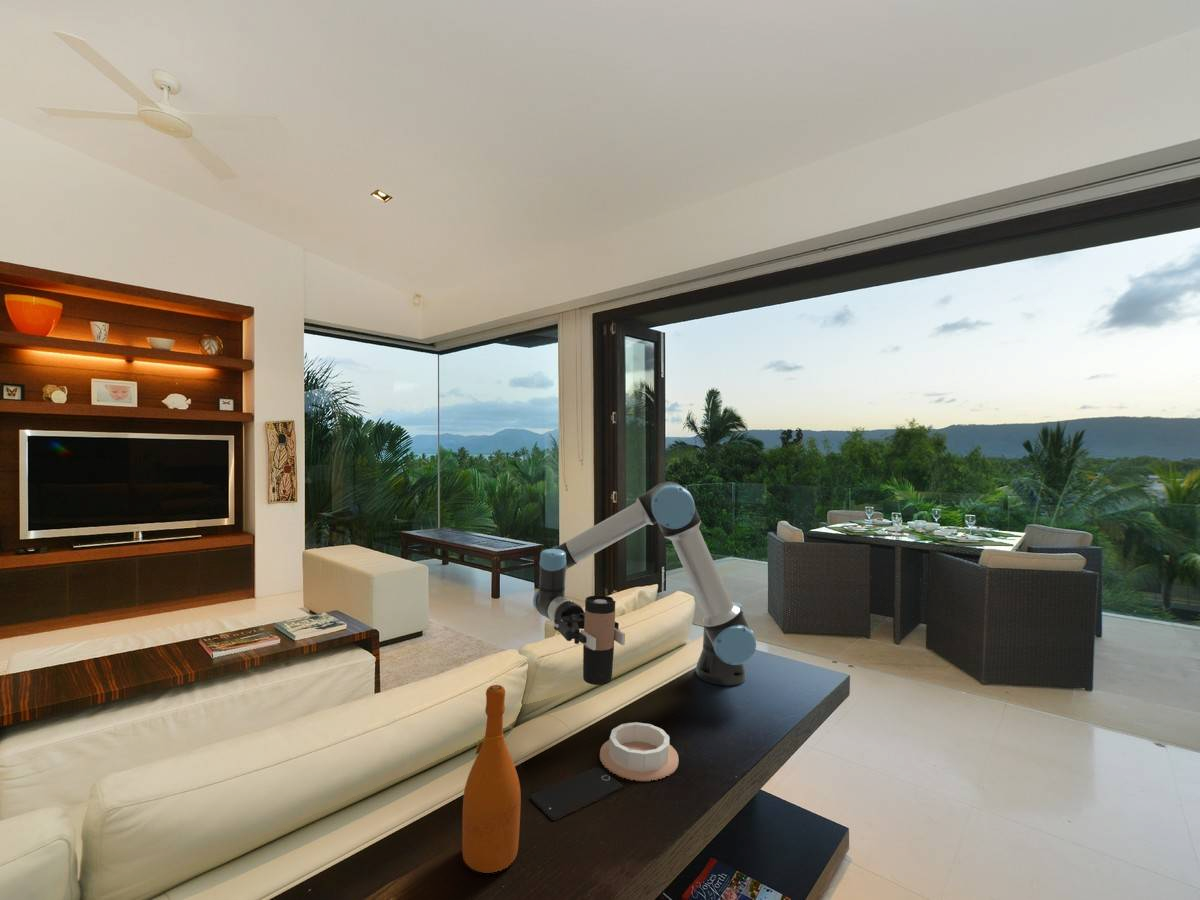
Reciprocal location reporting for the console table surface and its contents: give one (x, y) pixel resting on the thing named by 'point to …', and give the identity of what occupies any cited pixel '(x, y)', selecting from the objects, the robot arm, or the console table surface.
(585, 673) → the travel mug
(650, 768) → the white and pink ring
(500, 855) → the wine bottle
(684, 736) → the console table surface
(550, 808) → the cell phone
